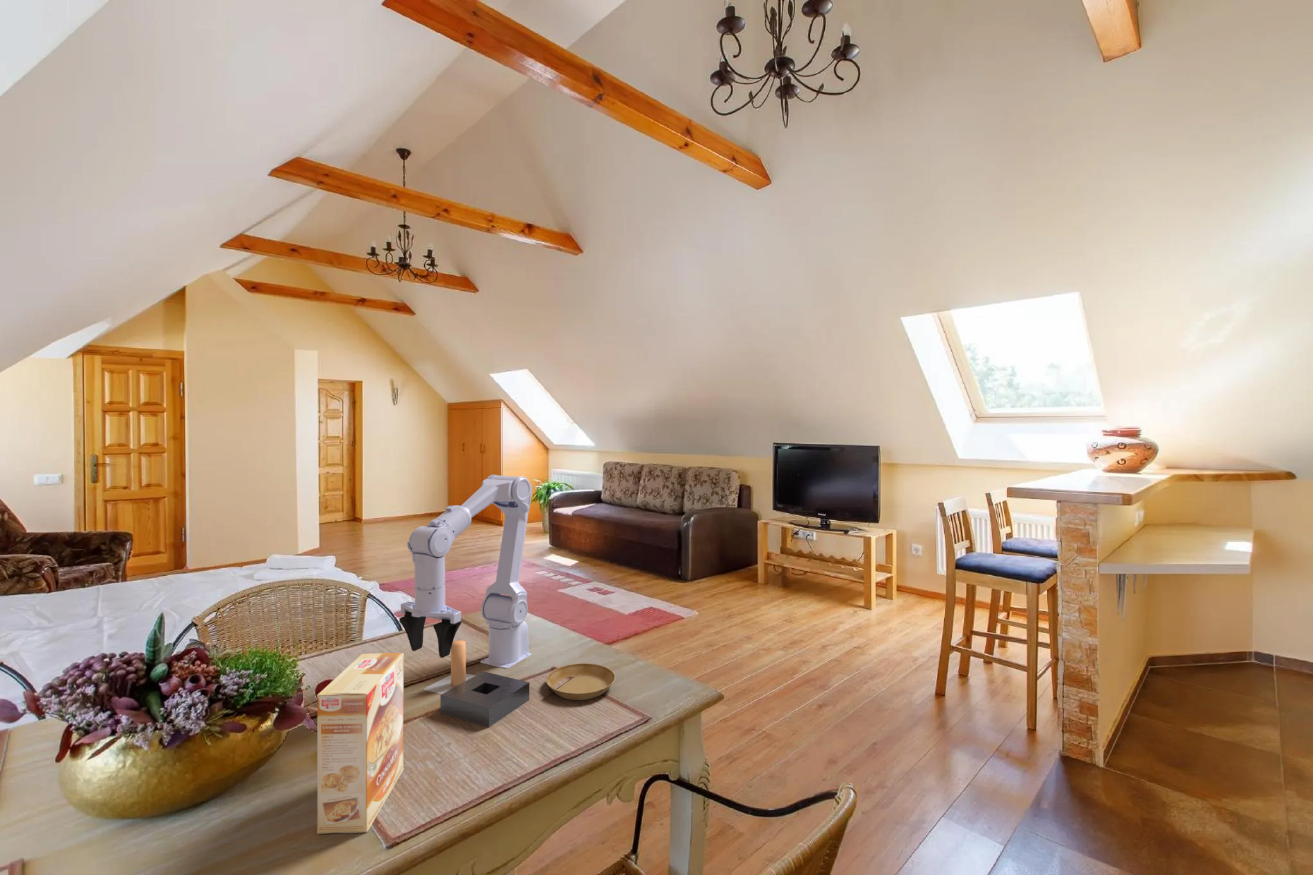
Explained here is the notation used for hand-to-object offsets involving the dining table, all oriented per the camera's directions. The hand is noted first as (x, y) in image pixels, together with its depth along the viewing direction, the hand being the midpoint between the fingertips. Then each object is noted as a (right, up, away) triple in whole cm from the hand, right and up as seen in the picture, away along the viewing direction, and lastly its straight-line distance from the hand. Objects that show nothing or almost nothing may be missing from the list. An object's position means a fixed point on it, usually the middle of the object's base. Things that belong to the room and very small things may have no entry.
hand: (430, 652), depth 119 cm
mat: (+3, -10, +7) cm, 13 cm away
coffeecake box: (+2, -11, -31) cm, 33 cm away
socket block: (+12, -10, -2) cm, 16 cm away
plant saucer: (+30, -11, +7) cm, 32 cm away
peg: (+3, -10, +7) cm, 12 cm away
